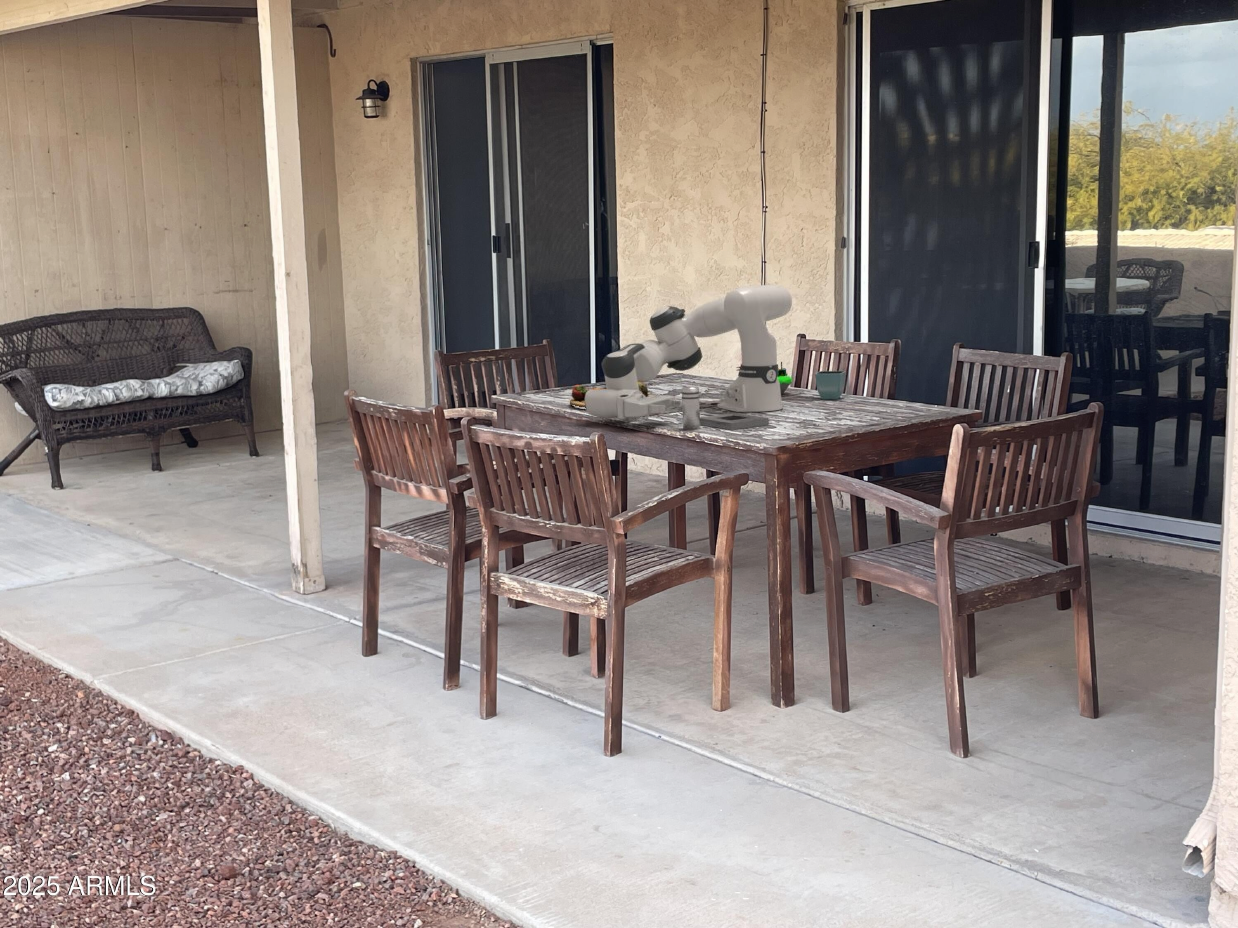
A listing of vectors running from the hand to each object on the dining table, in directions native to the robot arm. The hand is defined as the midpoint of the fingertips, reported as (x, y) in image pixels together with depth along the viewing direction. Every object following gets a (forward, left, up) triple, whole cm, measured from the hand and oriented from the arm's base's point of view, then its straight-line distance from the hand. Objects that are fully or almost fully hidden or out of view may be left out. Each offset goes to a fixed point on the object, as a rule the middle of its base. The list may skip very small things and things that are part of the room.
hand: (673, 406), depth 403 cm
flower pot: (-14, +75, -7) cm, 76 cm away
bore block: (+8, +16, -6) cm, 19 cm away
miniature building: (-38, +71, -7) cm, 81 cm away
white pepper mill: (+5, +3, -6) cm, 8 cm away
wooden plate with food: (-57, +18, -7) cm, 60 cm away
